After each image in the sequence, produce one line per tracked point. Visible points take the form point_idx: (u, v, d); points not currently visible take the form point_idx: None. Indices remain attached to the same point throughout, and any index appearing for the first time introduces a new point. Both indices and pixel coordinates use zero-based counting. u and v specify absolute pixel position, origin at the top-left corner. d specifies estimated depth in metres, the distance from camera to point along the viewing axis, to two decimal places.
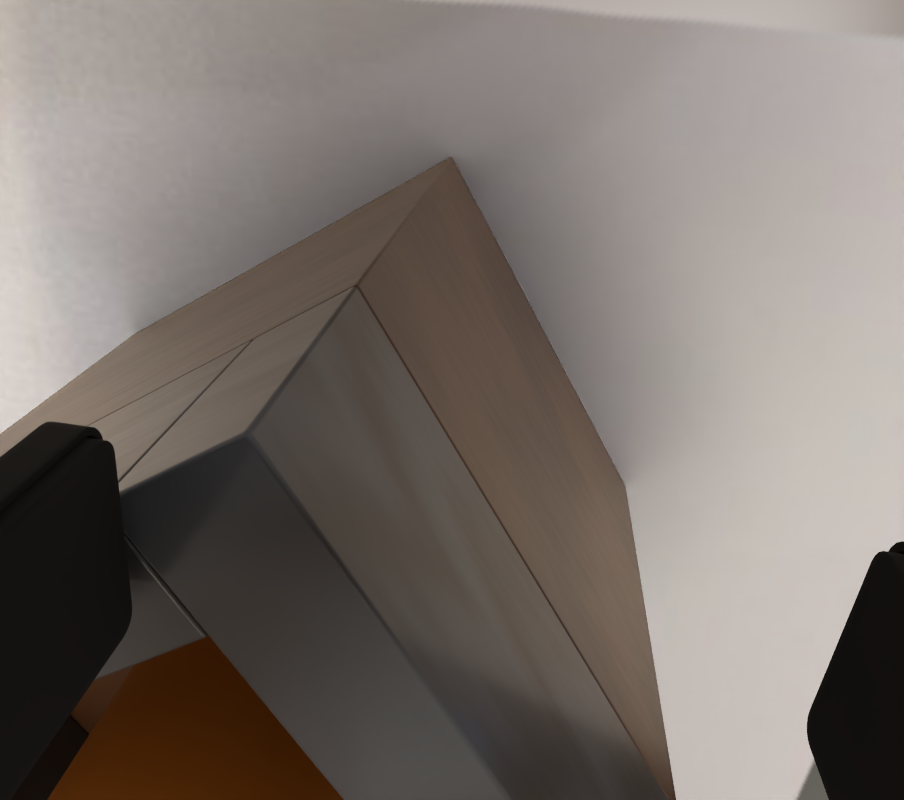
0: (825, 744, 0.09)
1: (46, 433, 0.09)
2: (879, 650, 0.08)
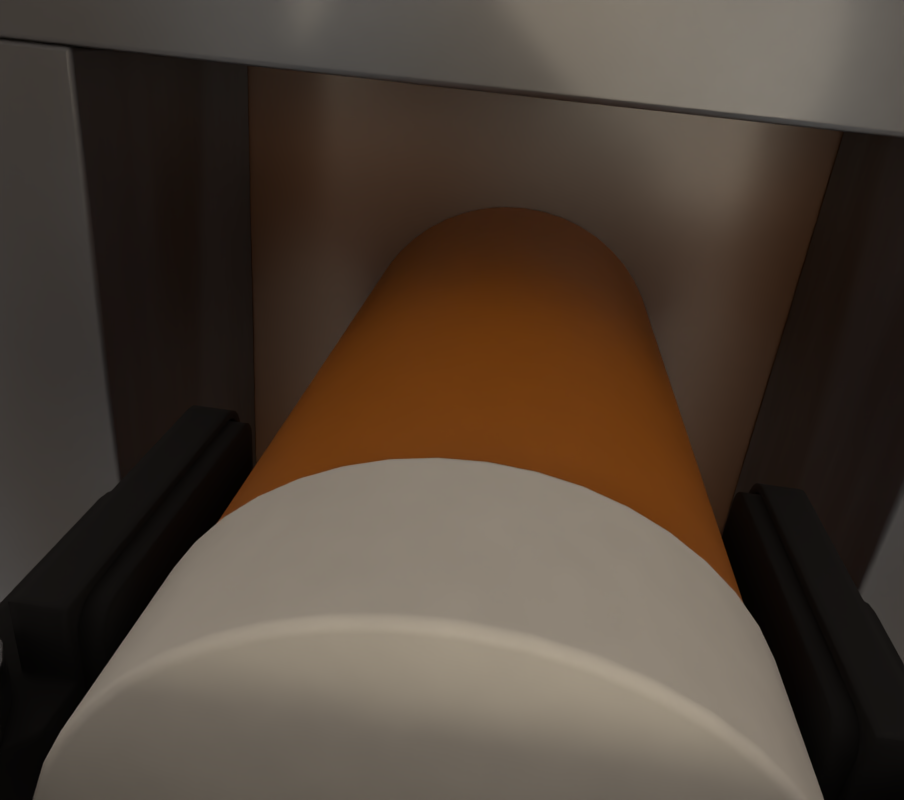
0: None
1: (196, 415, 0.09)
2: None
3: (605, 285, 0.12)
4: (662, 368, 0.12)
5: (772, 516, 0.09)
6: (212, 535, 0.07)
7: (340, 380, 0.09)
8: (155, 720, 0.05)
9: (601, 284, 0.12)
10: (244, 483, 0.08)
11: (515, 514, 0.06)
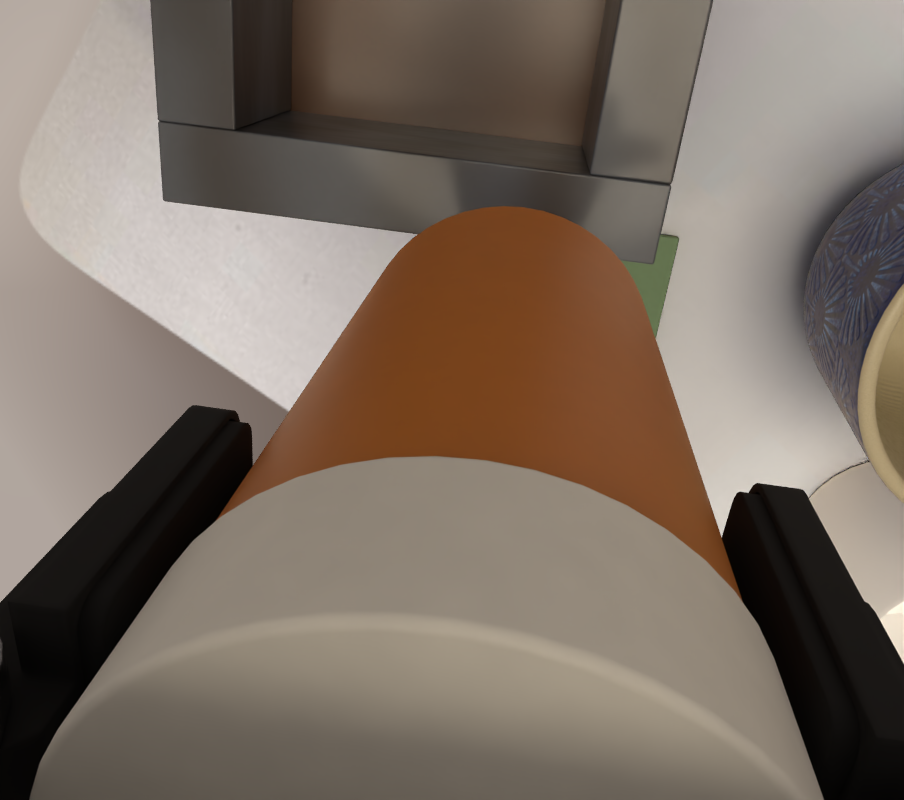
0: None
1: (196, 415, 0.09)
2: None
3: (604, 284, 0.12)
4: (661, 367, 0.12)
5: (772, 516, 0.09)
6: (209, 534, 0.06)
7: (338, 379, 0.09)
8: (152, 719, 0.05)
9: (600, 283, 0.12)
10: (242, 482, 0.08)
11: (513, 512, 0.06)
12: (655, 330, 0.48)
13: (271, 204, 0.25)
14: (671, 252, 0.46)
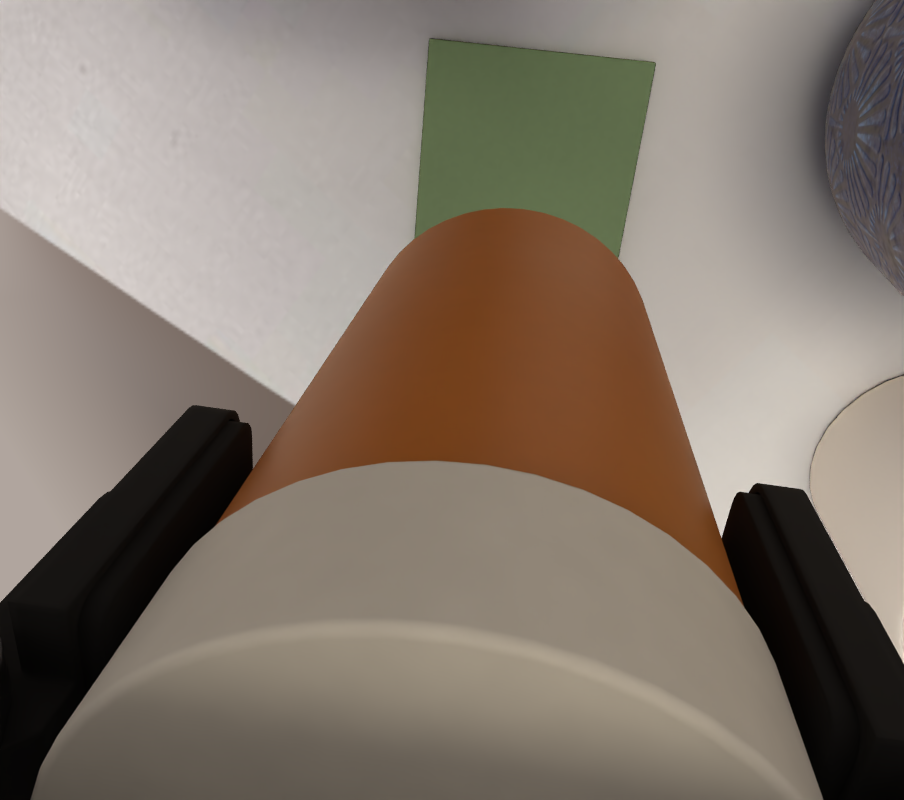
0: None
1: (196, 415, 0.09)
2: None
3: (605, 286, 0.12)
4: (662, 369, 0.12)
5: (772, 516, 0.09)
6: (210, 538, 0.06)
7: (339, 382, 0.09)
8: (152, 726, 0.05)
9: (601, 285, 0.12)
10: (242, 485, 0.08)
11: (514, 518, 0.06)
12: (627, 196, 0.36)
13: None
14: (646, 83, 0.34)
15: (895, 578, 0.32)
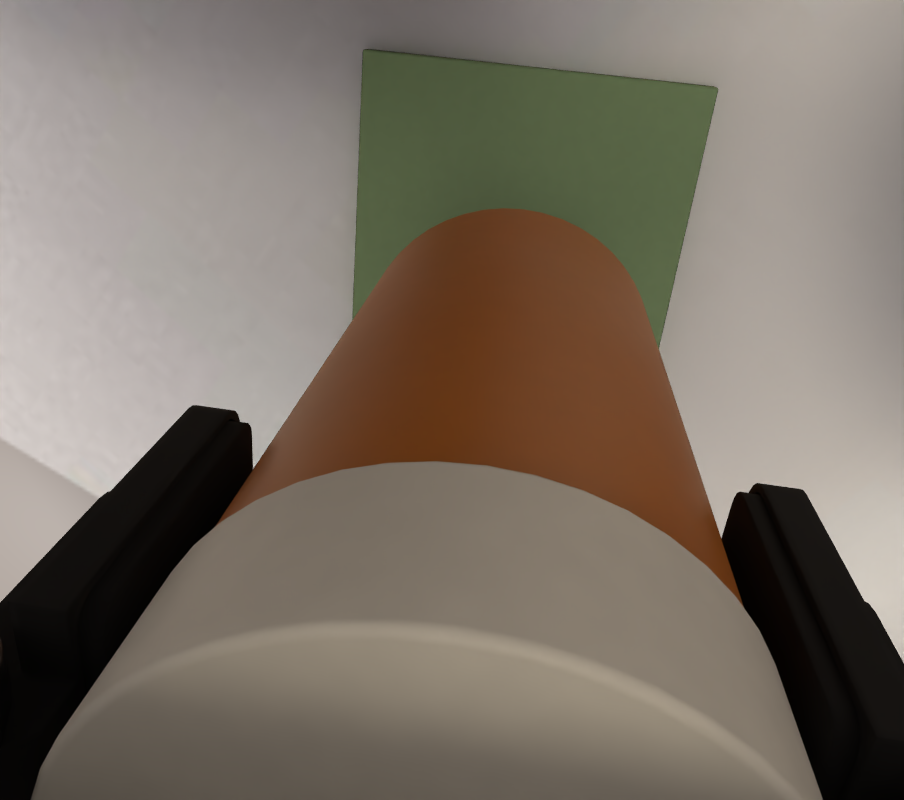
0: None
1: (196, 415, 0.09)
2: None
3: (605, 286, 0.12)
4: (662, 370, 0.12)
5: (772, 516, 0.09)
6: (210, 539, 0.06)
7: (339, 382, 0.09)
8: (152, 728, 0.05)
9: (601, 285, 0.12)
10: (242, 486, 0.08)
11: (514, 518, 0.06)
12: (668, 287, 0.24)
13: None
14: (701, 119, 0.22)
15: None
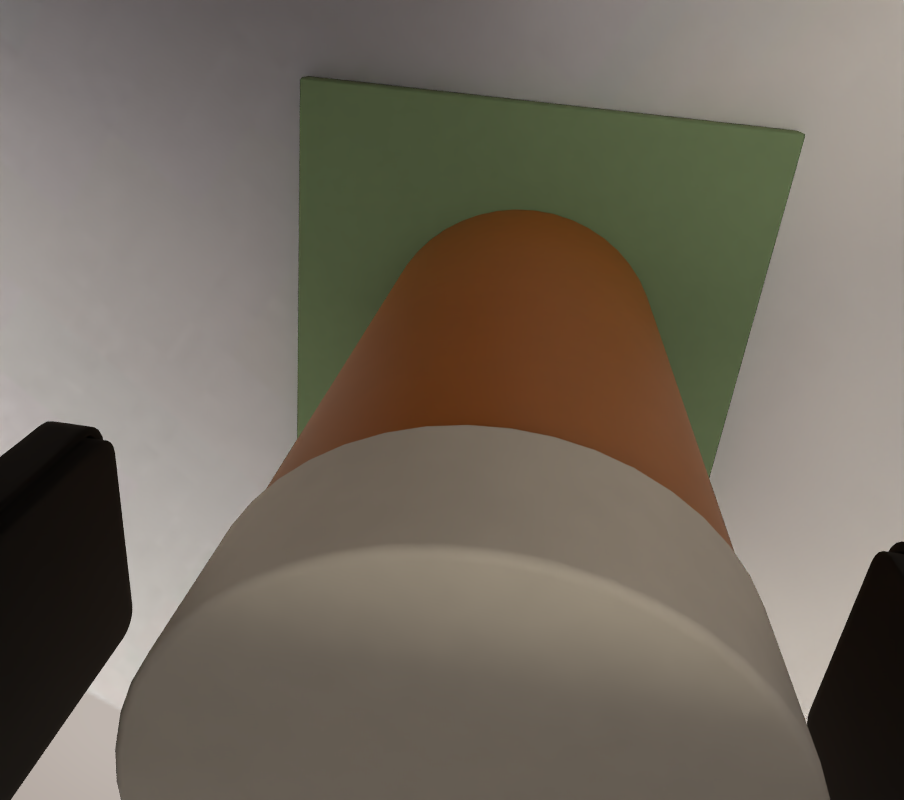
0: (824, 745, 0.09)
1: (46, 433, 0.09)
2: (879, 650, 0.08)
3: (612, 281, 0.13)
4: (665, 358, 0.12)
5: None
6: (269, 493, 0.07)
7: (373, 364, 0.10)
8: (233, 640, 0.06)
9: (608, 280, 0.13)
10: (288, 455, 0.09)
11: (537, 470, 0.07)
12: (725, 401, 0.18)
13: None
14: (780, 178, 0.15)
15: None
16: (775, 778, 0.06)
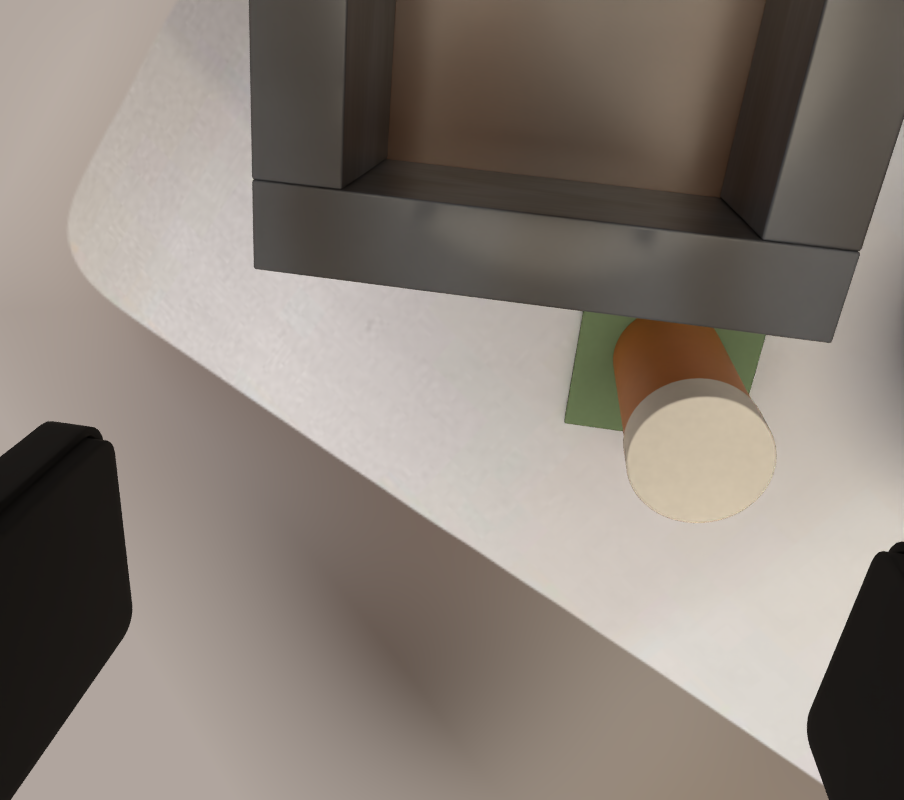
0: (825, 745, 0.09)
1: (46, 433, 0.09)
2: (879, 650, 0.08)
3: (714, 338, 0.40)
4: None
5: None
6: (655, 393, 0.34)
7: (658, 365, 0.36)
8: (664, 416, 0.33)
9: (713, 338, 0.40)
10: (641, 389, 0.36)
11: (718, 386, 0.33)
12: (750, 381, 0.44)
13: (379, 272, 0.22)
14: None
15: None
16: (765, 441, 0.32)
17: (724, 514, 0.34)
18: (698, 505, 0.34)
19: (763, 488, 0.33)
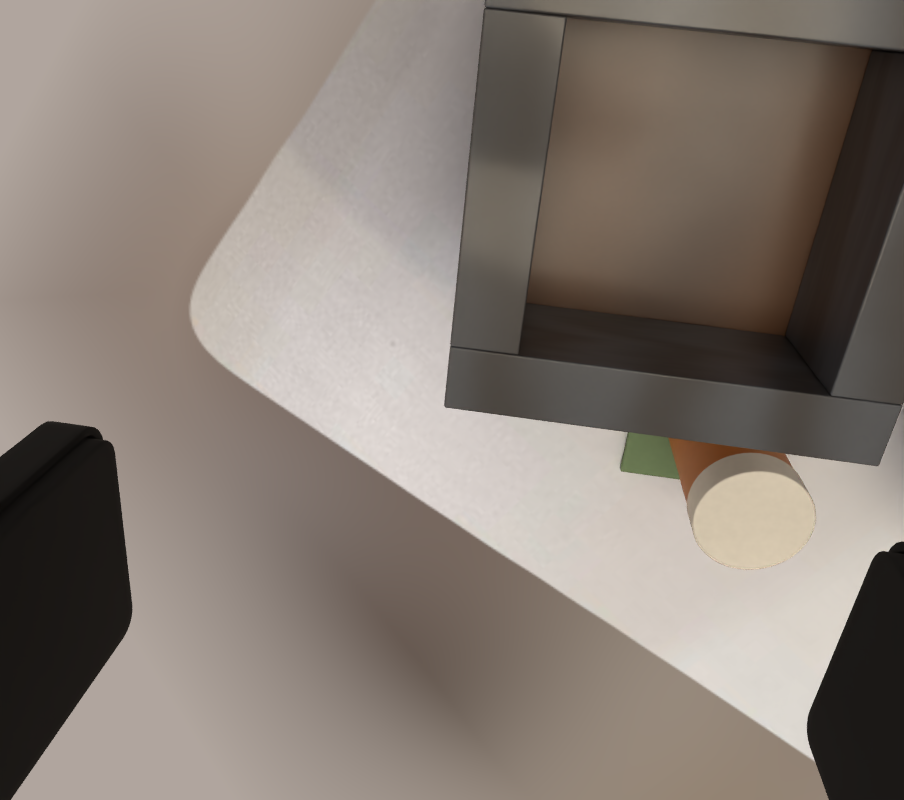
0: (825, 745, 0.09)
1: (46, 433, 0.09)
2: (879, 650, 0.08)
3: None
4: None
5: None
6: (715, 465, 0.41)
7: None
8: (725, 486, 0.40)
9: None
10: (701, 458, 0.43)
11: (768, 460, 0.41)
12: None
13: (541, 412, 0.29)
14: None
15: None
16: (807, 506, 0.40)
17: (771, 563, 0.42)
18: (750, 556, 0.42)
19: (804, 542, 0.41)
